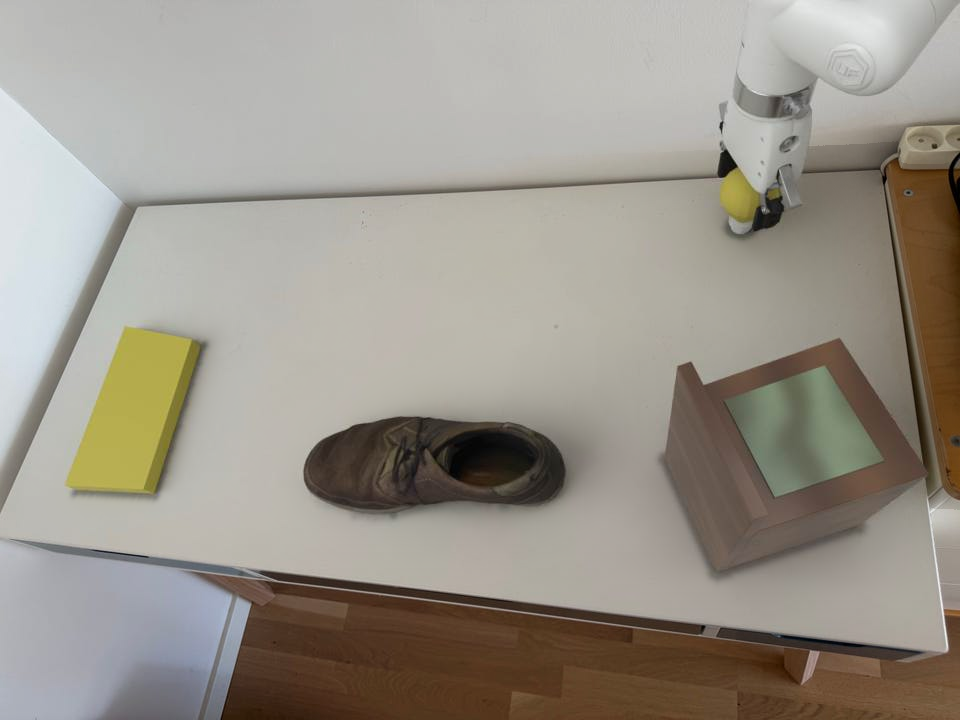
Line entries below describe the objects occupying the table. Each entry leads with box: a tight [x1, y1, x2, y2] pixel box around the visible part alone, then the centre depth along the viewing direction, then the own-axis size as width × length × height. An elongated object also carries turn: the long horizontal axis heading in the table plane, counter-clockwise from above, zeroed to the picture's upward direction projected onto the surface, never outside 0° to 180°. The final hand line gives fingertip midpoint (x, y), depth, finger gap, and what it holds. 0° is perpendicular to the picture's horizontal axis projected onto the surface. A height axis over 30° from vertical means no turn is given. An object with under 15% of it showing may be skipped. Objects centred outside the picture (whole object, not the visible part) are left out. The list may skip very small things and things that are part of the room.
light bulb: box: [718, 167, 779, 235], centre depth 80 cm, size 7×7×10 cm
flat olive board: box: [64, 325, 202, 495], centre depth 90 cm, size 12×2×24 cm
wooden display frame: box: [664, 337, 930, 573], centre depth 59 cm, size 15×13×24 cm
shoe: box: [302, 415, 566, 515], centre depth 74 cm, size 12×31×10 cm, turn 80°
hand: (747, 198), depth 79 cm, fingers open, 8 cm apart
